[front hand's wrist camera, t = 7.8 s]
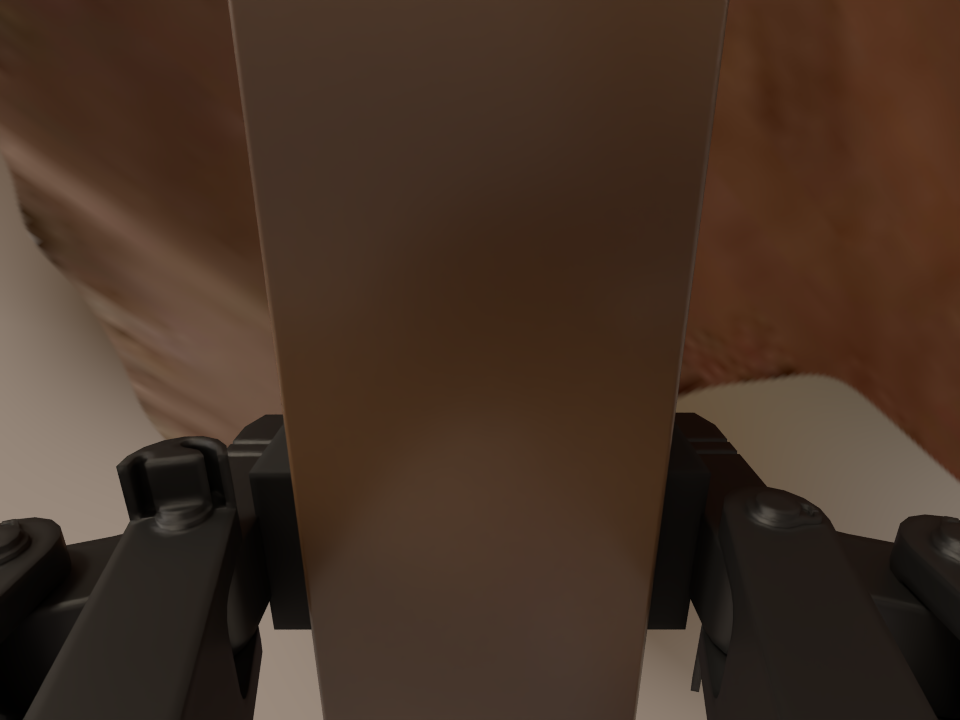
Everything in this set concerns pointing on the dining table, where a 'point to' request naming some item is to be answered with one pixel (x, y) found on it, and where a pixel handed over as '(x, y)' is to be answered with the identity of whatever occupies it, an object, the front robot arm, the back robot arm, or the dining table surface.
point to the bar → (478, 331)
